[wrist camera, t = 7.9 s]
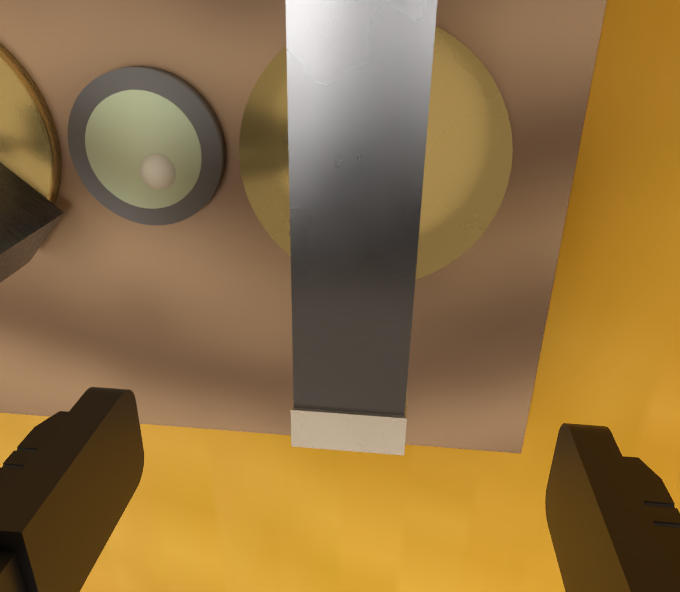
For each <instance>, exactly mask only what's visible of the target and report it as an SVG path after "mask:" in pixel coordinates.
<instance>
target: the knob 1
mask: <svg viewBox="0 0 680 592" xmlns="http://www.w3.org/2000/svg"><path fill="white" fill-rule="evenodd" d="M61 173H62V159H61V148H60V143H59V137H58V133H57V130H56V126H55V123H54V120H53V117H52V115H51V112H50V110H49V108H48V105H47V103H46V101H45V99H44V97H43V95H42V94H41V92H40V90H39V88H38V87H37V85H36V83H35V82H34V80H33V79H32V78H31V76H30V75H29V73H28V72H27V71H26V69H25V68H24V67H23V66H22V64H21V63H20V62H19V61H18V60H17V59H16V58H15V56H14V55H13V54H12V53H11V52H10V51H9V50H8V49H7V48H6V47H5V46H4V45H2V44H1V43H0V283H1V282H2V281H4V280H5V279H6V278H8V277H9V276H11V275H12V274H13V273H15V272H16V271H18V270H19V269H20V268H22V267H23V266H24V265H26V264H27V263H29V262H30V260H31V259H32V258H33V256H34V255H35V253H36V252H37V251H38V249H39V248H40V246H41V245H42V244H43V242H44V241H45V239H46V238H47V237H48V235H49V234H50V232H51V231H52V230H53V228H54V227H55V225H56V224H57V223H58V221H59V220H60V218H61V217H62V216H63V214H64V212H63V211H62V210H61V209H59V208H58V207H57V206H55V202H56V199H57V197H58V193H59V188H60V184H61Z"/></svg>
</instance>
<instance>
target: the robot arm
mask: <svg viewBox="0 0 680 592" xmlns="http://www.w3.org/2000/svg"><path fill="white" fill-rule="evenodd" d="M143 466H144V450H143V443H142V437H141V430H140V424H139V417H138V410H137V404H136V398H135V395H134V393H133V392H132V390H129V389H115V388H102V387H90V388H89V389H87V390H86V391H85V392H84V394H83V395H82V396H81V397H80V399H79V400H78V401H77V402H76V403H75V405H74V406H73V407H72V408H71V410H70V411H69V412H67V411H59V412H57V413H56V414H54V415H53V416H51V417H50V418H48V419H46V420H45V421H43V422H42V423H40V424H39V425H37V426H36V427H34V428H33V429H32V431H31V432H30V433H29V434H28V435H27V436H26V438H25V439H24V440H23V441H22V442H21V443H20V444H19V446H18V447H17V451H13V452H12V454H11V455H10V456H9V457H8V458H7V459H6V461H5V462H4V463H3V467H2V468H0V592H80V590H81V588H82V586H83V584H84V583H85V581H86V579H87V577H88V575H89V573H90V572H91V570H92V568H93V566H94V564H95V563H96V561H97V559H98V557H99V555H100V554H101V552H102V550H103V548H104V546H105V545H106V543H107V541H108V539H109V537H110V536H111V534H112V532H113V530H114V528H115V526H116V525H117V523H118V521H119V519H120V517H121V516H122V514H123V512H124V510H125V508H126V507H127V505H128V503H129V501H130V499H131V498H132V496H133V494H134V492H135V490H136V488H137V487H138V485H139V482H140V479H141V476H142V472H143ZM546 517H547V523H548V527H549V531H550V535H551V538H552V542H553V546H554V550H555V553H556V557H557V561H558V565H559V568H560V572H561V576H562V580H563V583H564V587H565V591H566V592H680V513H679V511H678V509H677V508H675V507H674V502H673V500H672V498H671V496H670V494H669V492H668V490H667V488H666V487H665V485H664V483H663V481H662V479H661V478H660V477H659V476H658V475H656V474H655V473H654V472H653V471H652V470H651V469H650V468H649V467H648V466H647V465H646V464H645V463H644V462H643V461H641V460H640V459H639V458H636V457H623V456H622V454H621V452H620V450H619V448H618V446H617V444H616V442H615V440H614V437H613V435H612V433H611V431H610V430H609V428H608V427H605V426H593V425H580V424H566V423H564V424H562V425H561V427H560V430H559V433H558V438H557V442H556V447H555V451H554V456H553V461H552V465H551V470H550V474H549V479H548V484H547V489H546Z"/></svg>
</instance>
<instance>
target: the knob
mask: <svg viewBox="0 0 680 592" xmlns="http://www.w3.org/2000/svg"><path fill="white" fill-rule="evenodd" d="M436 13H437V0H286V47H284V48H283V49H282V50H281V51H280V52H279V53H278V54H277V55H276V56H275V57H274V58H273V60H272V61H271V62H270V63H269V65H268V66H267V67H266V68H265V70H264V71H263V72H262V74H261V76H260V77H259V79H258V81H257V82H256V84H255V86H254V87H253V90H252V92H251V94H250V97H249V99H248V101H247V104H246V107H245V111H244V114H243V118H242V121H241V129H240V136H239V162H240V170H241V176H242V180H243V184H244V188H245V192H246V194H247V197H248V199H249V202H250V204H251V207H252V209H253V211H254V212H255V214H256V216H257V218H258V220H259V222H260V223H261V224H262V226H263V227H264V229H265V230H266V231H267V233H268V234H269V235H270V236H271V238H272V239H273V240H274V241H275V242H276V243H277V244H278V245H279V246H280V247H281V248H282V249H283V250H284V251H285V252H286V253H288V254H289V255H290V256H291V300H292V351H293V403H292V407H291V446H293V447H306V448H318V449H331V450H343V451H356V452H368V453H381V454H393V455H404V449H405V437H406V424H407V379H408V367H409V354H410V341H411V329H412V316H413V304H414V291H415V280H416V279H419V278H422V277H424V276H427V275H430V274H432V273H434V272H436V271H438V270H440V269H442V268H444V267H446V266H447V265H449V264H450V263H452V262H453V261H454V260H456V259H457V258H459V257H460V256H461V255H463V254H464V253H465V252H466V251H467V250H468V249H469V248H470V247H472V246H473V245H474V243H475V242H476V241H477V240H478V239H479V238H480V237H481V236H482V234H483V233H484V232H485V231H486V229H487V228H488V226H489V225H490V223H491V222H492V220H493V219H494V217H495V215H496V213H497V211H498V209H499V207H500V205H501V203H502V201H503V198H504V195H505V192H506V189H507V186H508V182H509V177H510V173H511V167H512V154H513V145H512V131H511V126H510V121H509V116H508V112H507V109H506V106H505V103H504V100H503V97H502V95H501V93H500V91H499V89H498V87H497V85H496V83H495V81H494V79H493V78H492V76H491V75H490V73H489V72H488V70H487V69H486V68H485V66H484V65H483V63H482V62H481V61H480V60H479V59H478V58H477V57H476V56H475V55H474V54H473V53H472V52H471V50H470V49H469V48H468V47H467V46H465V45H464V44H463V43H462V42H460V41H459V40H458V39H457V38H455V37H454V36H453V35H452V34H450V33H448V32H446V31H445V30H443V29H441V28H440V27H438V26H436Z"/></svg>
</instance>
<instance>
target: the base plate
mask: <svg viewBox="0 0 680 592" xmlns="http://www.w3.org/2000/svg"><path fill="white" fill-rule="evenodd" d="M606 3H607V0H437V13H436V26H438V27H440V28H441V29H443V30H445V31H446V32H448V33H450V34H452V35H453V36H454V37H455V38H457V39H458V40H459V41H460V42H462V43H463V44H464V45H465V46H467V47H468V48H469V49H470V50H471V52H472V53H473V54H474V55H475V56H476V57H477V58H478V59H479V60H480V61H481V62H482V63H483V65H484V66H485V68H486V69H487V70H488V72H489V73H490V75H491V76H492V78H493V79H494V81H495V83H496V85H497V87H498V89H499V91H500V93H501V95H502V97H503V100H504V103H505V106H506V109H507V112H508V116H509V121H510V126H511V131H512V145H513V154H512V167H511V173H510V177H509V182H508V186H507V189H506V192H505V195H504V198H503V201H502V203H501V205H500V207H499V209H498V211H497V213H496V215H495V217H494V219H493V220H492V222H491V223H490V225H489V226H488V228H487V229H486V231H485V232H484V233H483V234H482V236H481V237H480V238H479V239H478V240H477V241H476V242H475V243H474V245H473V246H472V247H470V248H469V249H468V250H467V251H466V252H465V253H464V254H463V255H461V256H460V257H459V258H457V259H456V260H454V261H453V262H452V263H450V264H449V265H447V266H446V267H444V268H442V269H440V270H438V271H436V272H434V273H432V274H430V275H427V276H424V277H422V278H419V279H416V280H415V291H414V304H413V316H412V329H411V341H410V354H409V367H408V379H407V424H406V437H405V444H408V445H421V446H433V447H446V448H459V449H472V450H484V451H497V452H510V453H521V451H522V446H523V440H524V435H525V430H526V425H527V419H528V414H529V409H530V403H531V398H532V393H533V388H534V382H535V377H536V372H537V367H538V361H539V356H540V351H541V345H542V340H543V335H544V330H545V324H546V319H547V314H548V309H549V303H550V298H551V293H552V287H553V282H554V277H555V272H556V266H557V261H558V256H559V251H560V245H561V240H562V235H563V229H564V224H565V219H566V214H567V208H568V203H569V198H570V192H571V187H572V182H573V177H574V171H575V166H576V161H577V156H578V150H579V145H580V140H581V134H582V129H583V124H584V119H585V113H586V108H587V103H588V98H589V92H590V87H591V82H592V76H593V71H594V66H595V61H596V55H597V50H598V45H599V39H600V34H601V29H602V24H603V18H604V13H605V8H606ZM0 43H1V44H2V45H4V46H5V47H6V48H7V49H8V50H9V51H10V52H11V53H12V54H13V55H14V56H15V58H16V59H17V60H18V61H19V62H20V63H21V64H22V66H23V67H24V68H25V69H26V71H27V72H28V73H29V75H30V76H31V78H32V79H33V80H34V82H35V83H36V85H37V87H38V88H39V90H40V92H41V94H42V95H43V97H44V99H45V101H46V103H47V105H48V108H49V110H50V112H51V115H52V117H53V120H54V123H55V126H56V130H57V133H58V137H59V143H60V148H61V159H62V173H61V184H60V188H59V193H58V197H57V199H56V202H55V206H57V207H58V208H59V209H61V210H62V211H63V212H64V214H63V216H62V217H61V218H60V220H59V221H58V223H57V224H56V225H55V227H54V228H53V230H52V231H51V232H50V234H49V235H48V237H47V238H46V239H45V241H44V242H43V244H42V245H41V246H40V248H39V249H38V251H37V252H36V253H35V255H34V256H33V258H32V259H31V260H30V262H29V263H27V264H26V265H24V266H23V267H22V268H20V269H19V270H18V271H16V272H15V273H13V274H12V275H11V276H9V277H8V278H6V279H5V280H4V281H2V282H1V283H0V413H13V414H25V415H38V416H53V415H54V414H56V413H57V412H59V411H67V412H69V411H70V410H71V408H72V407H73V406H74V405H75V403H76V402H77V401H78V400H79V399H80V397H81V396H82V395H83V394H84V392H85V391H86V390H87V389H89V388H90V387H102V388H115V389H129V390H132V392H133V393H134V395H135V398H136V404H137V410H138V417H139V423H140V424H153V425H166V426H178V427H191V428H204V429H217V430H229V431H242V432H255V433H268V434H280V435H291V407H292V403H293V351H292V300H291V256H290V255H289V254H288V253H286V252H285V251H284V250H283V249H282V248H281V247H280V246H279V245H278V244H277V243H276V242H275V241H274V240H273V239H272V238H271V236H270V235H269V234H268V233H267V231H266V230H265V229H264V227H263V226H262V224H261V223H260V222H259V220H258V218H257V216H256V214H255V212H254V211H253V209H252V207H251V204H250V202H249V199H248V197H247V194H246V192H245V188H244V184H243V180H242V176H241V170H240V162H239V136H240V129H241V121H242V118H243V114H244V111H245V107H246V104H247V101H248V99H249V97H250V94H251V92H252V90H253V87H254V86H255V84H256V82H257V81H258V79H259V77H260V76H261V74H262V72H263V71H264V70H265V68H266V67H267V66H268V65H269V63H270V62H271V61H272V60H273V58H274V57H275V56H276V55H277V54H278V53H279V52H280V51H281V50H282V49H283V48H284V47H286V0H0Z"/></svg>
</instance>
